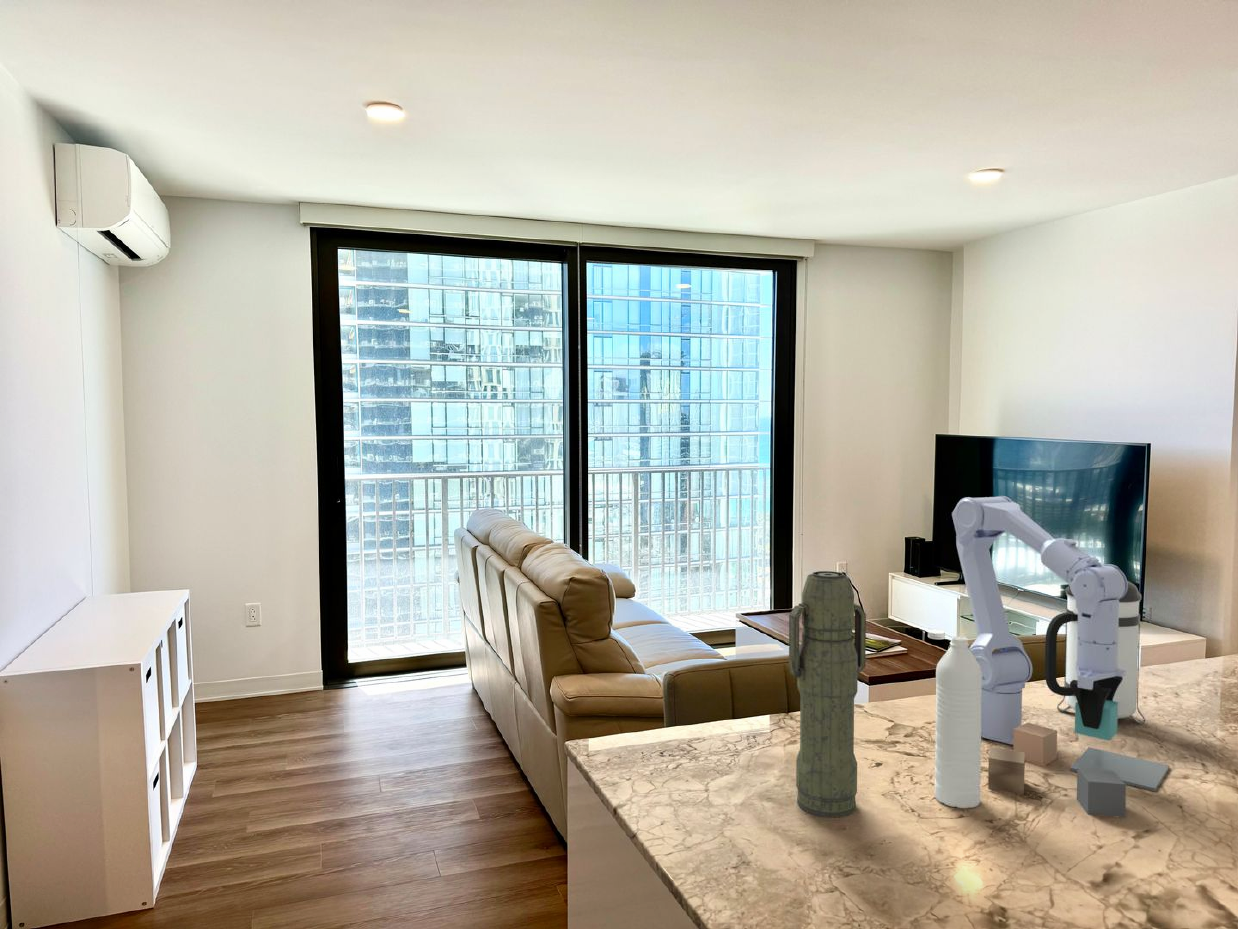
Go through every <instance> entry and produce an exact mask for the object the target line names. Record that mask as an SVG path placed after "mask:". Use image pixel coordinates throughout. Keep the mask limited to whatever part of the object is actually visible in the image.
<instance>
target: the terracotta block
mask: <svg viewBox="0 0 1238 929" xmlns="http://www.w3.org/2000/svg"><path fill="white" fill-rule="evenodd" d="M1012 746H1013V751H1019V752H1025V762H1028V763H1032V764H1035V765H1038V766H1041V767H1044V766H1046V765H1048V764H1050V763H1051V762H1053V761H1055V760H1057V759H1058V757H1057V754H1058V752H1057V750H1058V730H1056V729H1052V728H1050V727H1045V726H1042V725H1039V724H1034V723H1031V722H1026V723H1024V724H1022V725H1021V726H1019V727H1017V728H1015V729H1014V745H1012Z"/></svg>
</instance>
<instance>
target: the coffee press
mask: <svg viewBox="0 0 1238 929" xmlns="http://www.w3.org/2000/svg"><path fill="white" fill-rule="evenodd" d="M1127 582H1128V589H1127V592H1126V594H1125V595H1124V597H1122V598H1121V599H1119V622H1118V660H1117V668H1118V669H1121V670H1125V671H1126V675H1125V676H1124V677H1123V680H1122V682H1121V683H1120V685H1119V686H1118V688H1117V690H1116V693H1115V695H1114V698H1113V701H1114V702H1118V719H1124V718H1125V719H1126V718H1128V717H1130V718H1131V719H1133V721H1135V722H1136V724H1138V725H1143V724H1145V723H1146V718H1145V716H1144V715H1143V713H1142V712H1141V710H1140V708H1139V679H1138V678H1139V676H1140V675H1139V674H1140V672H1139V671H1140V668H1139V666H1140V663H1139V662H1140V637H1139V636H1140V635H1141V634H1140V630H1141V629H1140V628H1141V627H1140V626H1141V624H1140V623H1141V613H1139V609H1140V602H1141V600H1142V594H1141V592H1139V590H1138V587H1137V586H1136V585H1135V584H1134V583H1132V582H1130V581H1129V580H1127ZM1065 594H1066V596H1067V606H1066V607H1065V612H1062V613H1059V614H1057V615H1055V616H1054V617H1053V618H1051V620H1050V622H1049V623H1048V626H1047V629H1046V633H1045V640H1044V641H1045V644H1044V646H1045V647H1044V678H1045V683H1046V686H1047V687H1048V689H1049V690H1050V691H1051V693H1054V694H1056V695H1059V696H1063V698H1062V700H1060V701H1059V703H1058V704H1057V708H1056V709H1057V711H1059V712H1060V713H1064V712H1066V711H1068V710H1069V709H1072V710H1074V711H1075V703H1076V702H1077V699H1076V697H1075V695H1074V693H1073V691H1072V689H1071V687H1070V682H1071V681H1072V680H1077V681H1078V674H1077V671H1076V669H1075V666H1076V663H1077V638H1078V610H1077V608H1076V600H1075V597H1074V596H1073V594H1072V592H1071V589H1070V585H1069V584H1068V586H1067V587H1066V588H1065ZM1064 625H1065V639H1064V640H1065V647H1064V648H1065V649H1064V652H1065V653H1064V685H1063V686H1061V685H1060V684H1059V683H1058V679H1057V646H1058V645H1057V643H1058V642H1057V640H1058V635H1059V634H1058V633H1059V631H1060V629H1061V627H1062V626H1064ZM1065 700H1066V703H1067V705H1068V706H1067V707H1065V708H1063V709H1061V708H1060V707H1059V706H1060V705H1062V703H1064V701H1065ZM1136 711H1138V713H1139V714H1140V716H1141V717H1142V719H1143V720H1142V721H1139V720H1138V719H1137V718H1136V717H1135V716H1134V714H1135V713H1136Z"/></svg>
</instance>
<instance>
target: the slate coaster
mask: <svg viewBox="0 0 1238 929" xmlns="http://www.w3.org/2000/svg"><path fill="white" fill-rule="evenodd" d="M1077 768H1085V769H1099V770H1112V771H1114V772H1115V773H1116V774H1117V775H1118V776H1119V777H1120V778H1121V779H1122V780H1123V782H1124V783H1125V784H1126V786H1127V785H1128V786H1130V785H1132V786H1131V787H1134V786H1136V787H1135V788H1138V787H1139V788H1138V789H1142V788H1143V789H1142V790H1146V791H1151V792H1155V791H1157V790H1158V788H1159V787H1158V786H1160V785H1161V783H1162V781H1163V780H1164V778H1165V776H1167V773H1168V771H1169V770H1170V765H1169V764H1165V763H1160V762H1158V761H1157V762H1156V761H1151V760H1148V759H1143V758H1138V757H1133V756H1129V755H1125V754H1121V753H1116V752H1112V751H1108V750H1104V749H1103V750H1102V749H1099V748H1095V747H1094V748H1093V747H1087V748H1086V750H1085V751H1083V753H1082V754H1081V755H1080V756H1079V758H1077V759H1076V761H1075V762H1073V764H1072V765H1071V766H1070V768H1069V770H1070V772H1074V773H1077Z"/></svg>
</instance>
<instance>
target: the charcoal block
mask: <svg viewBox="0 0 1238 929" xmlns="http://www.w3.org/2000/svg"><path fill="white" fill-rule="evenodd" d="M1076 774H1077V775H1076V801H1077V802H1078V804H1079V805H1080V806H1081V808H1082V809H1083V810H1084V812H1086V813H1085V814H1087V815H1088V816H1089V815H1090V816H1091V815H1093V816H1101V817H1103V816H1104V817H1113V816H1116V817H1115V818H1124V817H1125V818H1126V805H1127V804H1126V803H1127V800H1126V799H1127V798H1126V797H1127V785H1126V784H1125V783H1124V782H1123V780H1122V779H1121V778H1120V777H1119V776H1118V775H1117V774H1116V773H1115V772H1114V771H1112V770H1099V769H1085V768H1077V772H1076ZM1117 816H1118V817H1117Z"/></svg>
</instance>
